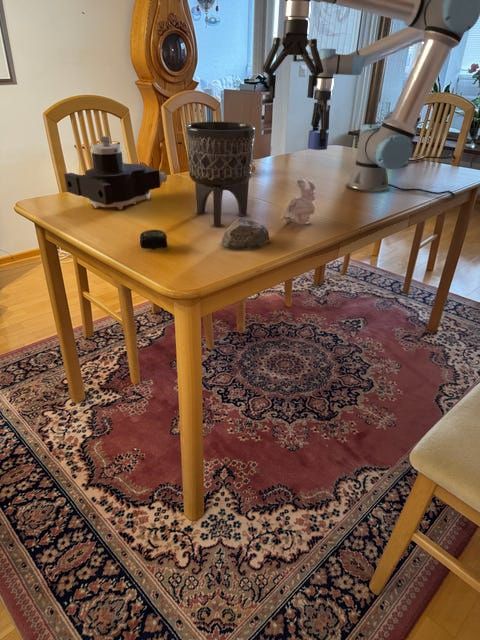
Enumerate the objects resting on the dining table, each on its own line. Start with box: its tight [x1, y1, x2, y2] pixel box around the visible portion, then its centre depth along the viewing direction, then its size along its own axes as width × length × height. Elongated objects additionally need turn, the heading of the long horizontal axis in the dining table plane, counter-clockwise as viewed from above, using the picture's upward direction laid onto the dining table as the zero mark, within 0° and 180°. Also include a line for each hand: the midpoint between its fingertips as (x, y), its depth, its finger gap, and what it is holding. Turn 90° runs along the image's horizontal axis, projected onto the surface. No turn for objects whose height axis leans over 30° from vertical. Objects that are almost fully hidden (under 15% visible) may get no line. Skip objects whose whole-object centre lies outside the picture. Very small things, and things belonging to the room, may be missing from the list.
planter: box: [185, 121, 256, 227], centre depth 134 cm, size 20×20×26 cm
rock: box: [221, 216, 270, 250], centre depth 119 cm, size 13×9×6 cm, turn 131°
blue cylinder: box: [307, 129, 330, 151], centre depth 208 cm, size 9×9×7 cm
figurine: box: [281, 177, 316, 225], centre depth 135 cm, size 8×15×13 cm, turn 145°
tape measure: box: [139, 229, 168, 250], centre depth 117 cm, size 7×7×4 cm
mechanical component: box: [63, 135, 168, 210], centre depth 149 cm, size 22×21×30 cm
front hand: (291, 98), depth 146 cm, fingers open, 13 cm apart
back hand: (317, 144), depth 209 cm, fingers closed on blue cylinder, 9 cm apart
